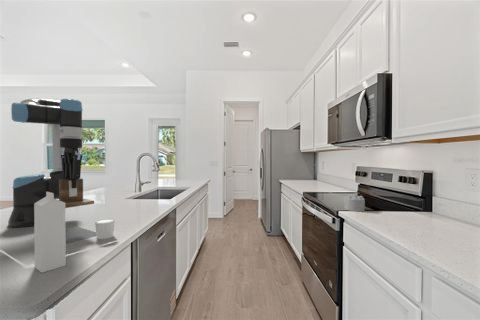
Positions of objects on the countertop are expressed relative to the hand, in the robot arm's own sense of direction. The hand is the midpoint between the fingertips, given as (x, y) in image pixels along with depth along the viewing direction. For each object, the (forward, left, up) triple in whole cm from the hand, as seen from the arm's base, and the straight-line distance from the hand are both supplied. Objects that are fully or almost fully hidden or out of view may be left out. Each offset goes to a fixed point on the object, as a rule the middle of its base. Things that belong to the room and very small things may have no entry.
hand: (71, 195), depth 103 cm
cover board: (0, 0, -3) cm, 3 cm away
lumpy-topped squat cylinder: (+88, +123, -17) cm, 152 cm away
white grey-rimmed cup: (+14, +6, -17) cm, 23 cm away
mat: (0, 0, -16) cm, 16 cm away
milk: (+26, -17, -17) cm, 35 cm away
